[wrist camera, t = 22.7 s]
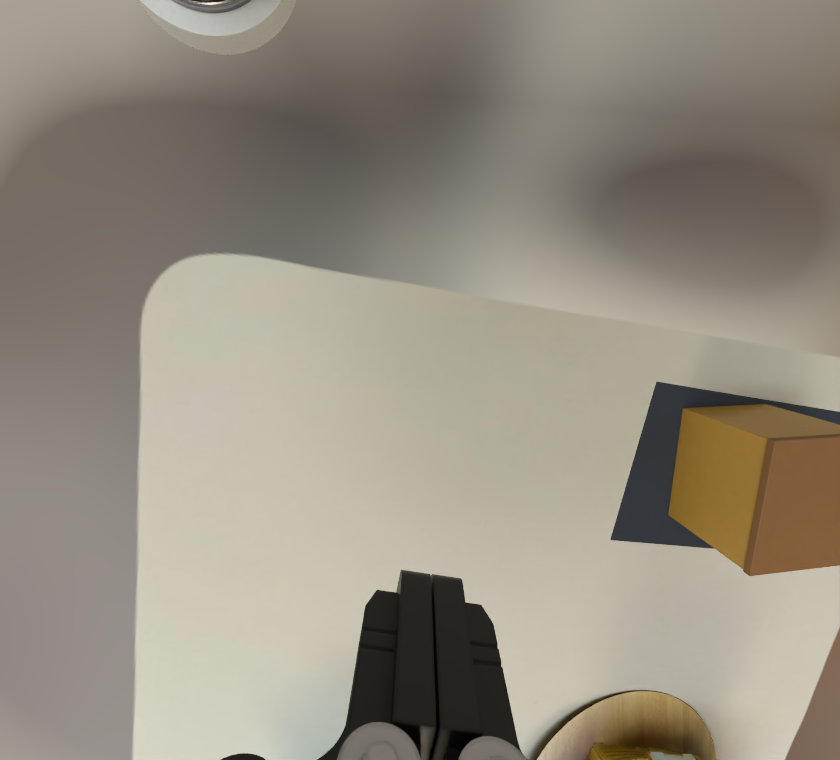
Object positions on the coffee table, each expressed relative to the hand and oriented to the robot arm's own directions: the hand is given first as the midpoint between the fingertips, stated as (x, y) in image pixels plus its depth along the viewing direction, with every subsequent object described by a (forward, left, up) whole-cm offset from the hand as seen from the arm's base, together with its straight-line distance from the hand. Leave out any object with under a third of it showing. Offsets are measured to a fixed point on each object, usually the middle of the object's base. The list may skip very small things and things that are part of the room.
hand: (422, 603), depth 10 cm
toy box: (+3, +34, -25) cm, 42 cm away
